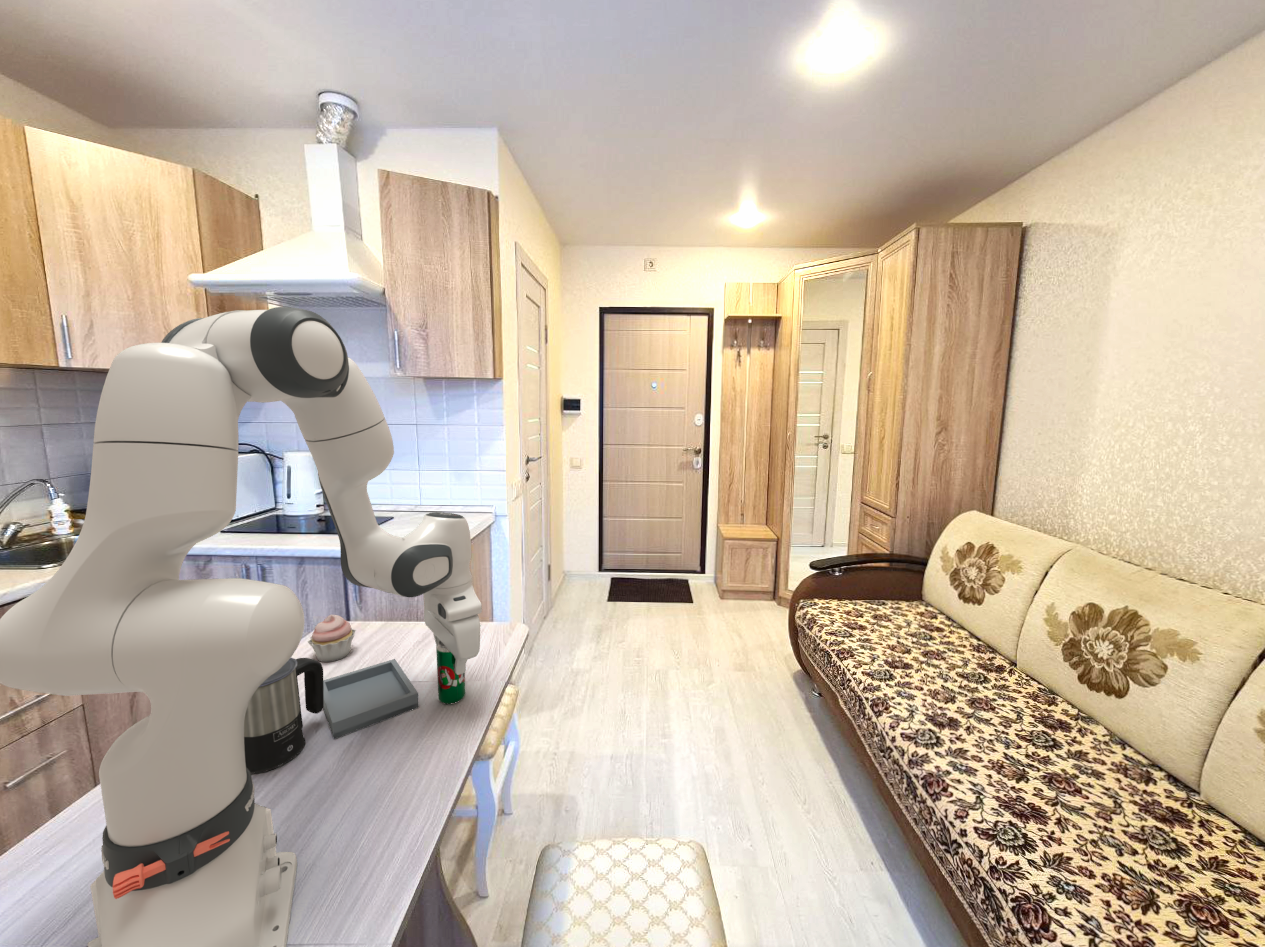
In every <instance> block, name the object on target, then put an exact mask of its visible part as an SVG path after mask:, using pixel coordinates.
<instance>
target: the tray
mask: <svg viewBox="0 0 1265 947" xmlns="http://www.w3.org/2000/svg"><path fill="white" fill-rule="evenodd" d="M323 686H324V690H323V691H324V705H323V709H322V710H323V712H324V714H325V717H326V721H327V724H328V725H329V729H330V732H331V736H332V737H333V740H336V739H338V738H342V737H343V736H346V735H349V734H351V733H355V732H357V731H360V730H363V729H365V728H368V727H370V726H373V725H376V724H378V723H382V722H383V721H386V720H388V719H392V718H394V717H396V716H400V715H402V714H405V713H408V712H411V711H412V709H413V710H416V709H419V708H420V704H419V703H420V702H419V692H418V690H417V689H416V688H415V686H414V685H413V683H412V682H411V680H410V678H408V676H407V674H406V673H405V672H404V670H403V669H402V667H401V666H400V664H399V663H398V660H396V658H393V659H389V660H386V661H383V662H380V663H377V664H373V665H369V666H367V667H362V668H360V669H357V670H353V671H350V672H347V673H343V674H340V675H337V676H334V677H330V678H327V679H326V678H325V679H323ZM418 707H419V708H418ZM410 710H411V711H410Z"/></svg>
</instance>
